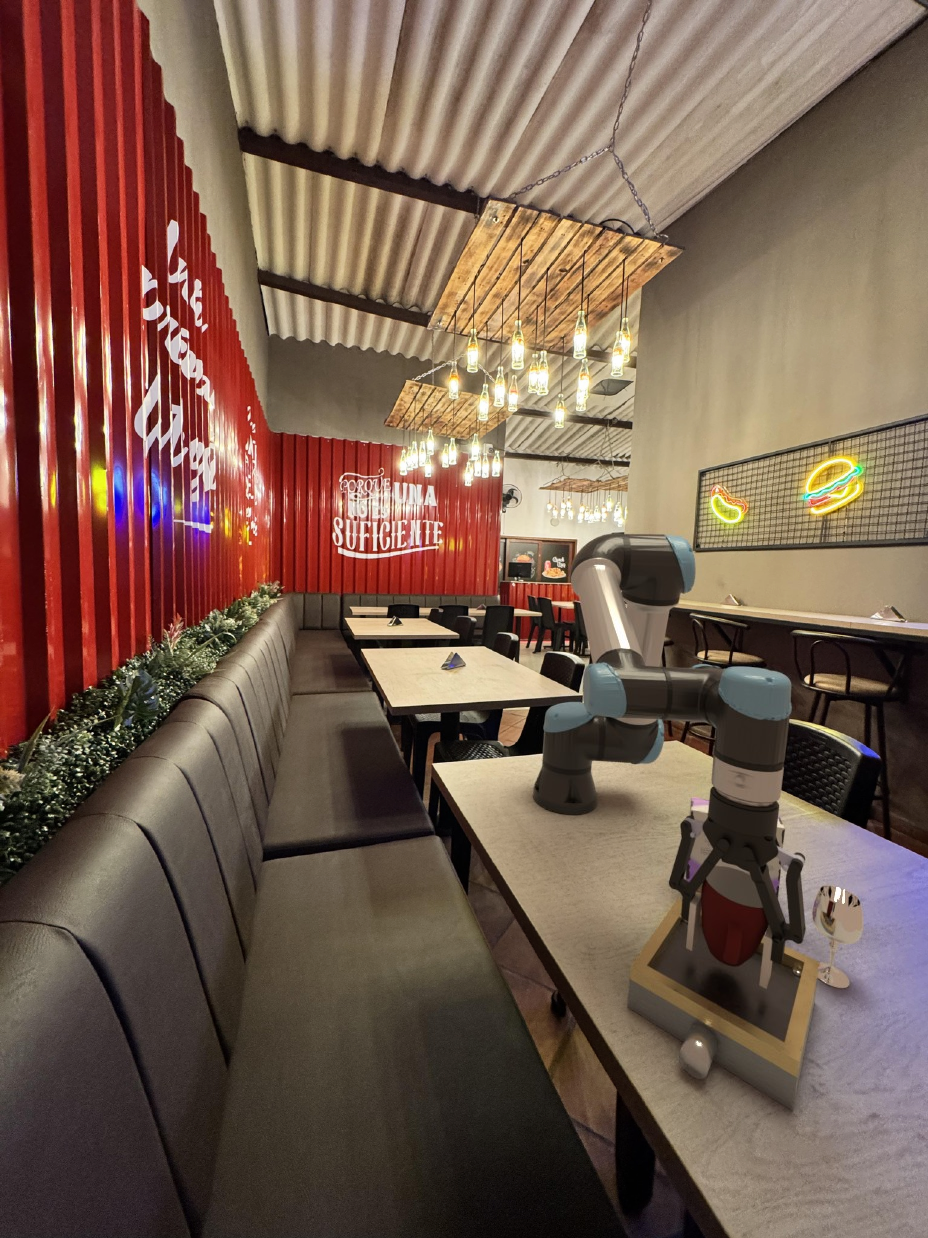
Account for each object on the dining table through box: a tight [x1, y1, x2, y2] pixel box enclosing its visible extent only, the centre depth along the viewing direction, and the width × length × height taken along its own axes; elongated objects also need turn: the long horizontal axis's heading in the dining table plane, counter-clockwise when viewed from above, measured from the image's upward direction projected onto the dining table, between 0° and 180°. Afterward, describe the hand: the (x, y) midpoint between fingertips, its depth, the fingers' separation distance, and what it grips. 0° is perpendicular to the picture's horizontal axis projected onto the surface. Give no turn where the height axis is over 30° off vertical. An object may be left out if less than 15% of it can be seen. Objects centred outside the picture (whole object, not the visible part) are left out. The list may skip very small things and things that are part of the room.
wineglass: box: [811, 884, 865, 989], centre depth 70 cm, size 6×6×12 cm
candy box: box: [684, 796, 786, 899], centre depth 85 cm, size 14×6×16 cm, turn 66°
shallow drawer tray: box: [627, 897, 821, 1112], centre depth 63 cm, size 18×22×6 cm
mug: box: [701, 866, 769, 967], centre depth 64 cm, size 11×8×10 cm
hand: (726, 961), depth 64 cm, fingers closed on mug, 8 cm apart
